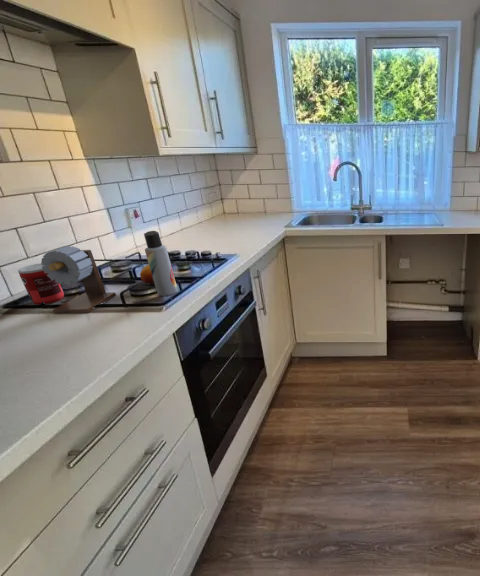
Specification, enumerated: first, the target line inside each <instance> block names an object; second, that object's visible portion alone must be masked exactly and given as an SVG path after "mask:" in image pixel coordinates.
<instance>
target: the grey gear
mask: <svg viewBox="0 0 480 576" xmlns="http://www.w3.org/2000/svg"><path fill="white" fill-rule="evenodd" d="M80 250H81V248H78V247H75V246H71V245H65V246H61V247H58V248H55V249H52V250H50V251H48V252H46V253H45V254H43V256H42V258H41V262H40V263H41V265H44V266H42V268H43V270H44V272H45V273H49V274H48V275H47V276H48V277H49V278H50V279H51V280H55V279H56V280H55V282H57V283H59V284H60V285H62V286H63V285H64V286H70V285H73V284H76V283H78V282H80V281H81V280H82V279H84V278H86V277H88V276H89V275H90V274H91V272H92V268H93V266H91V265H92V262H91V260H90V258H86V257H87V256H88V255H87V254H86V253H85V252H84V251H80ZM58 261H60V262H62V263H64V264H65V265H66V266H65V267H63V268H61V269H58V270H56V271H52V270H50V269H49V265H50V264H52V263H55V262H58Z"/></svg>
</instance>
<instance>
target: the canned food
mask: <svg viewBox="0 0 480 576" xmlns="http://www.w3.org/2000/svg"><path fill="white" fill-rule="evenodd" d="M42 266H44V265H41V262H40V263H35V264H28V265H26V266H22V267H20V268H18V269H17V273H18V275H19V277H20V279H21V281H22V282H21V283H22V284H23V285H24V288H25V290H26V292H27V295H28V297H29V299H30V301H31V303H32V304H34V305H36V304H38V305H37V306H40V304H41V303H42V302H44V303H45V304H44V305H50V304H54V303H56V301H57V302H59V301H61V300H63V299H64V298H63V297H65V293H64V290H63V288H62V286H61V285H62V284H59V283H57V282H55V280H56V279H55V280H51V279H50V278H49V277H48V276H47V275H48V274H49V273H45V272H44V270H43V268H42ZM49 303H50V304H49Z"/></svg>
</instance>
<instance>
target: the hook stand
mask: <svg viewBox="0 0 480 576" xmlns="http://www.w3.org/2000/svg"><path fill="white" fill-rule="evenodd" d="M80 251H84V252H85V253H86V254H87V255H88V256H87V257H86V258H90V260H91V262H92V265H91V266H93V268H92V272H91V274H90V275H89V276H88V277H86V278H84V279H82V280H80V281H81V284H82V286H83V288H84V291H85V292H84V293H82V294H80V295H78V296H76V297H74V298H72V299H71V300H69V301H67V302H65V303H63V304H62V305H59V306H57V307H55V308H54V309H52V312H53V314H54V315H56V314H57V315H59V314H89V313H91V312H92V311H93V310H92V309H93V307H94V306H96V305H98V304H101V303H104V302H105V303H107V302H109V301H110V300H112V299H113V298H115V297H117V292H113V291H112V292H111V291H110V292H107V291H106V288H105V286H104V282H103V280H102V277H101V275H100V272H99V269H98V266H97V263H96V260H95V258H94V255H93V253H92V250H91V249H80ZM65 266H66V265H65V264H64V263H62V262H60V261H58V262H55V263H52V264H50V265H49V269H50V270H52V271H56V270H58V269H61V268H63V267H65ZM105 303H104V304H105Z"/></svg>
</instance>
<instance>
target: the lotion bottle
mask: <svg viewBox="0 0 480 576" xmlns="http://www.w3.org/2000/svg"><path fill="white" fill-rule="evenodd" d="M143 237H144V240H145V244H146V248H145V249H144V253H145V256H146V260H147V263H148V264H149V266H150V270H151V273H152V276H153V280H154V283H155V284H154V286H155V289H156V292H157V295H158V296H159V295H161V296H160V297H167V295H168V296H171V294H172V295H174V294H176V293H178V285H177V282H176V278H175V274H174V271H173V268H172V267H173V266H172V262H171V259H170V255H169V252H168V248H167V246H166V245H163V242H162V240H161V236H160V233H159V231H157V230H150V231H146V232H145V233H143Z"/></svg>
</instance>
